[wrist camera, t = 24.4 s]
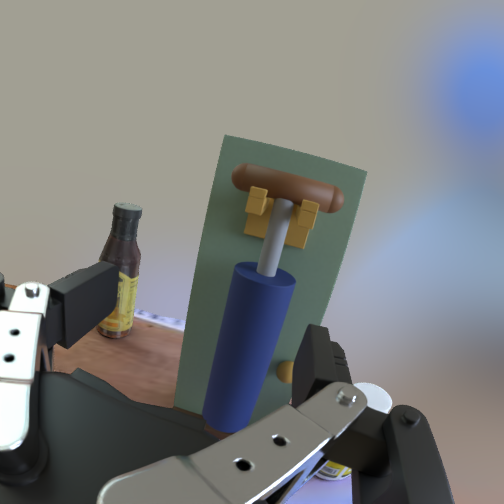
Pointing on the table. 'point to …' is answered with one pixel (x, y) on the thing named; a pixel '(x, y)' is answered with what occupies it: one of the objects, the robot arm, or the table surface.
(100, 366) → the table surface
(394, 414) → the robot arm
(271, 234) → the t-handle plunger
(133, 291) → the sauce bottle
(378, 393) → the pill bottle
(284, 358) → the green panel
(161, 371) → the table surface
